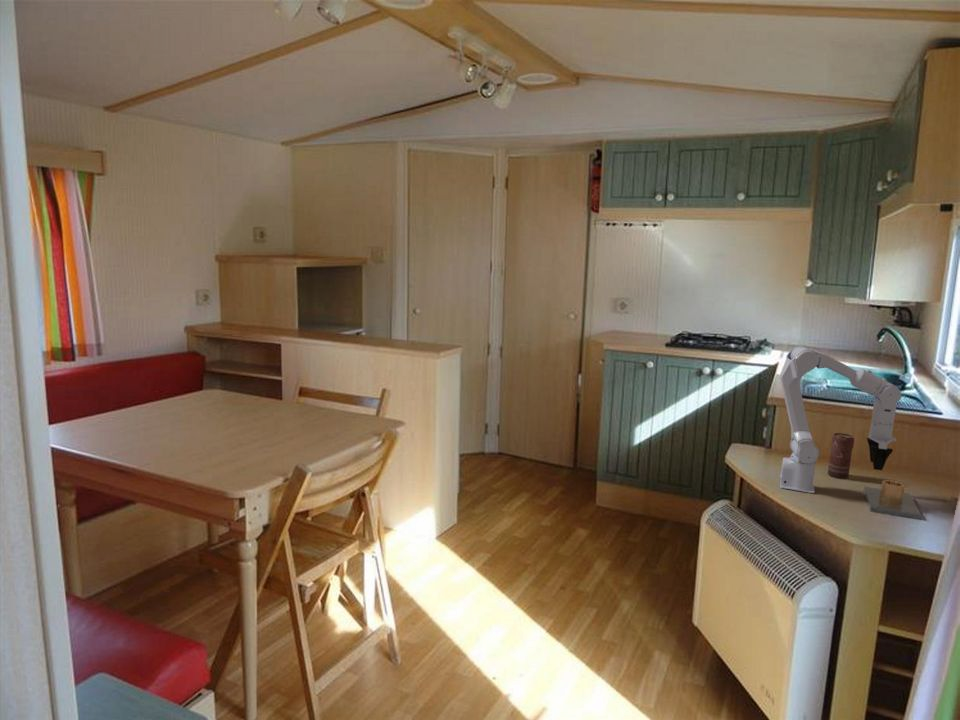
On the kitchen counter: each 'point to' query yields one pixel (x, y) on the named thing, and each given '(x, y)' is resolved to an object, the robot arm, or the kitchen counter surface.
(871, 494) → the piston jig
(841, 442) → the can
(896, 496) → the tan cup
